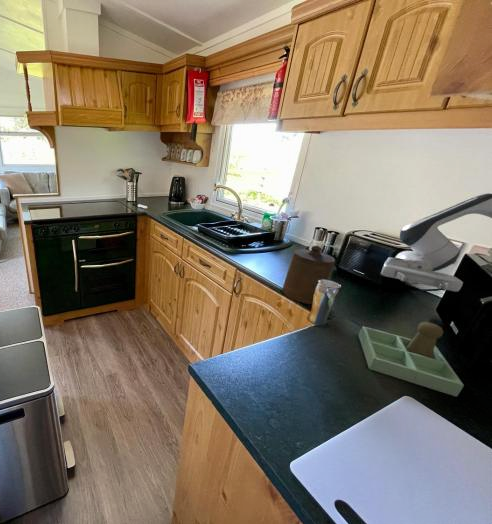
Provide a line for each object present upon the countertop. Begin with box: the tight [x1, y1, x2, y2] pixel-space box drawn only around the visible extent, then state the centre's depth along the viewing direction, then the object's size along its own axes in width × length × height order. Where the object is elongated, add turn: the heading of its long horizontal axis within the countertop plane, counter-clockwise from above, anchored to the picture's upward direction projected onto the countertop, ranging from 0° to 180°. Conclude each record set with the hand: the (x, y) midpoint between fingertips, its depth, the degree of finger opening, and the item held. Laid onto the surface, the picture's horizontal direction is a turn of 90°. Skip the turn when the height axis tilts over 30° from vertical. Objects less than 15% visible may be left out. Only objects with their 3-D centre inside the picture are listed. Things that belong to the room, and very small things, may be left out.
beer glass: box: [306, 279, 342, 327], centre depth 99 cm, size 7×7×15 cm
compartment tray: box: [358, 325, 465, 398], centre depth 83 cm, size 18×18×4 cm
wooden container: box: [282, 245, 336, 305], centre depth 117 cm, size 15×15×22 cm
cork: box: [406, 321, 444, 358], centre depth 84 cm, size 6×6×11 cm
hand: (424, 283), depth 92 cm, fingers open, 8 cm apart
